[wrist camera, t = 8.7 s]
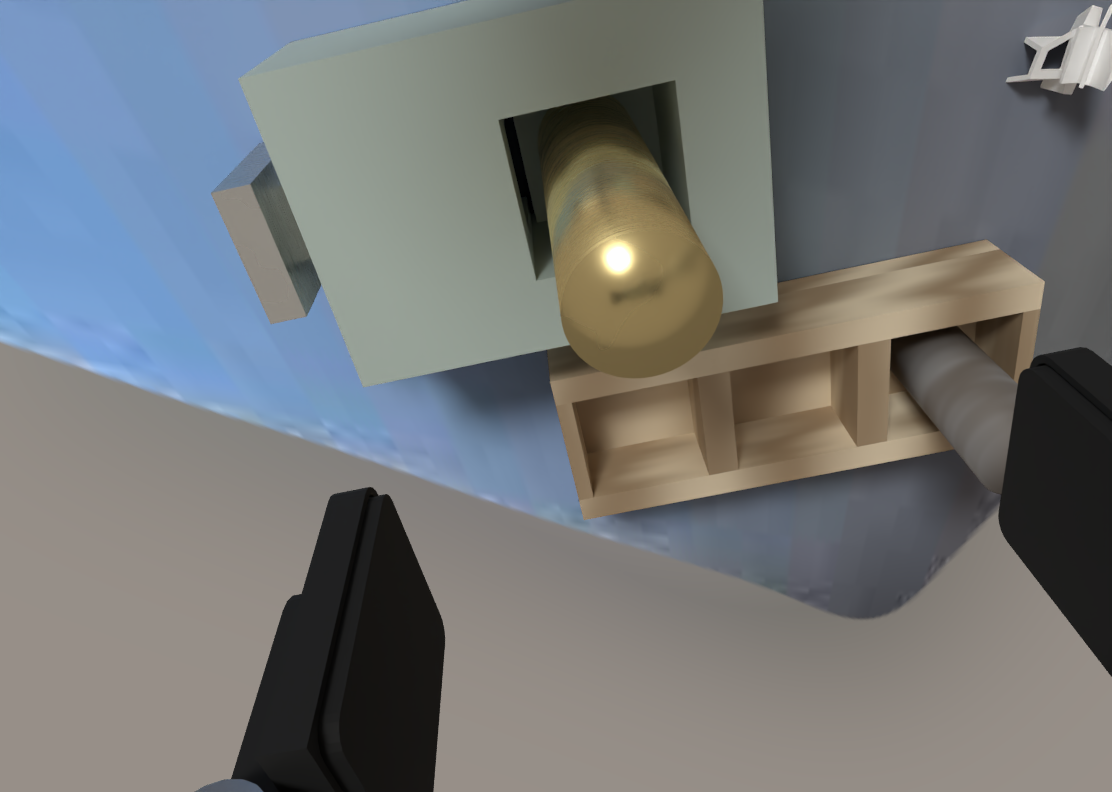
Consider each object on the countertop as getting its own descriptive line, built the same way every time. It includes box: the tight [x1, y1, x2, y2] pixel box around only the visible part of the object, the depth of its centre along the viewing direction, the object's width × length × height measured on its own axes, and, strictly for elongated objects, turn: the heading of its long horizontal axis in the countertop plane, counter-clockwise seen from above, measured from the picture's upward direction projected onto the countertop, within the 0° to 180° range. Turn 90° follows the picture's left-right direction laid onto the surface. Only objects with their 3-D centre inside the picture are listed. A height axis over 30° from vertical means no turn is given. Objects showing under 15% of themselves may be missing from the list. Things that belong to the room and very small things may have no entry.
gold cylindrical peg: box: [538, 95, 723, 379], centre depth 22 cm, size 3×3×13 cm
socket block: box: [239, 0, 778, 387], centre depth 26 cm, size 14×10×6 cm
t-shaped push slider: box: [211, 142, 321, 324], centre depth 26 cm, size 8×4×5 cm, turn 102°
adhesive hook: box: [1006, 4, 1112, 95], centre depth 26 cm, size 3×3×3 cm
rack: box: [547, 240, 1045, 520], centre depth 30 cm, size 18×7×9 cm, turn 102°
